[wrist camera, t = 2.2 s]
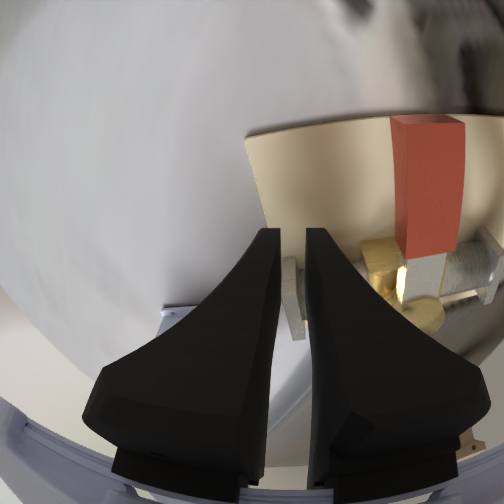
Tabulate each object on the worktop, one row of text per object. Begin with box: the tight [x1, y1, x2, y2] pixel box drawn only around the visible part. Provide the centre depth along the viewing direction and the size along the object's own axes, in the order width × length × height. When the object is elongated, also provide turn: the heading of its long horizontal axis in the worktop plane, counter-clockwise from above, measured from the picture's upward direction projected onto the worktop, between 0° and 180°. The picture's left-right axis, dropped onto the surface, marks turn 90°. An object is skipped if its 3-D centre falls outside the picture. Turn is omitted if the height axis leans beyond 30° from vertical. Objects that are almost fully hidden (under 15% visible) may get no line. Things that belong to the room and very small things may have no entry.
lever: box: [384, 114, 465, 336], centre depth 14 cm, size 15×4×2 cm, turn 15°
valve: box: [281, 226, 504, 341], centre depth 20 cm, size 18×6×4 cm, turn 105°
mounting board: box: [244, 114, 504, 326], centre depth 20 cm, size 22×18×1 cm
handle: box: [456, 427, 486, 463], centre depth 25 cm, size 5×6×15 cm
